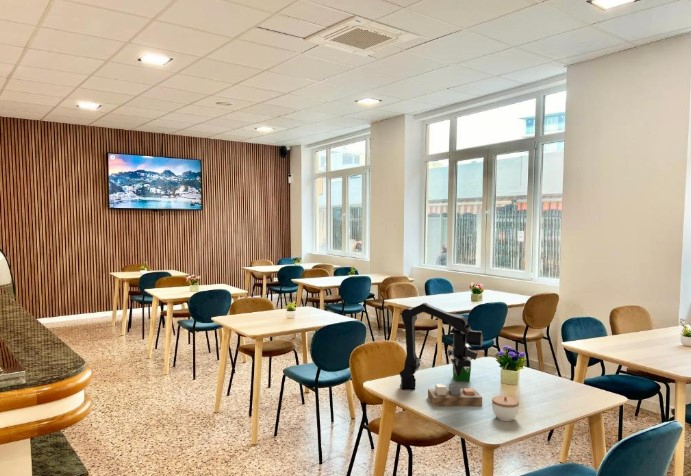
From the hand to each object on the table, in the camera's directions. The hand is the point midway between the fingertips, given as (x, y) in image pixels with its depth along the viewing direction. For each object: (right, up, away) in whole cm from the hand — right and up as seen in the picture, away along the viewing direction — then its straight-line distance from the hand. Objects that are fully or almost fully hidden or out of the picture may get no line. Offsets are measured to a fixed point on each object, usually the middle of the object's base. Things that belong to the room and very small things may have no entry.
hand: (458, 375), depth 229 cm
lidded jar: (+14, -11, -24) cm, 30 cm away
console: (-3, -10, -7) cm, 12 cm away
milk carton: (+8, -9, +25) cm, 28 cm away
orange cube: (+3, -9, -6) cm, 11 cm away
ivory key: (-10, -6, -7) cm, 14 cm away
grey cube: (-3, -6, -7) cm, 10 cm away
